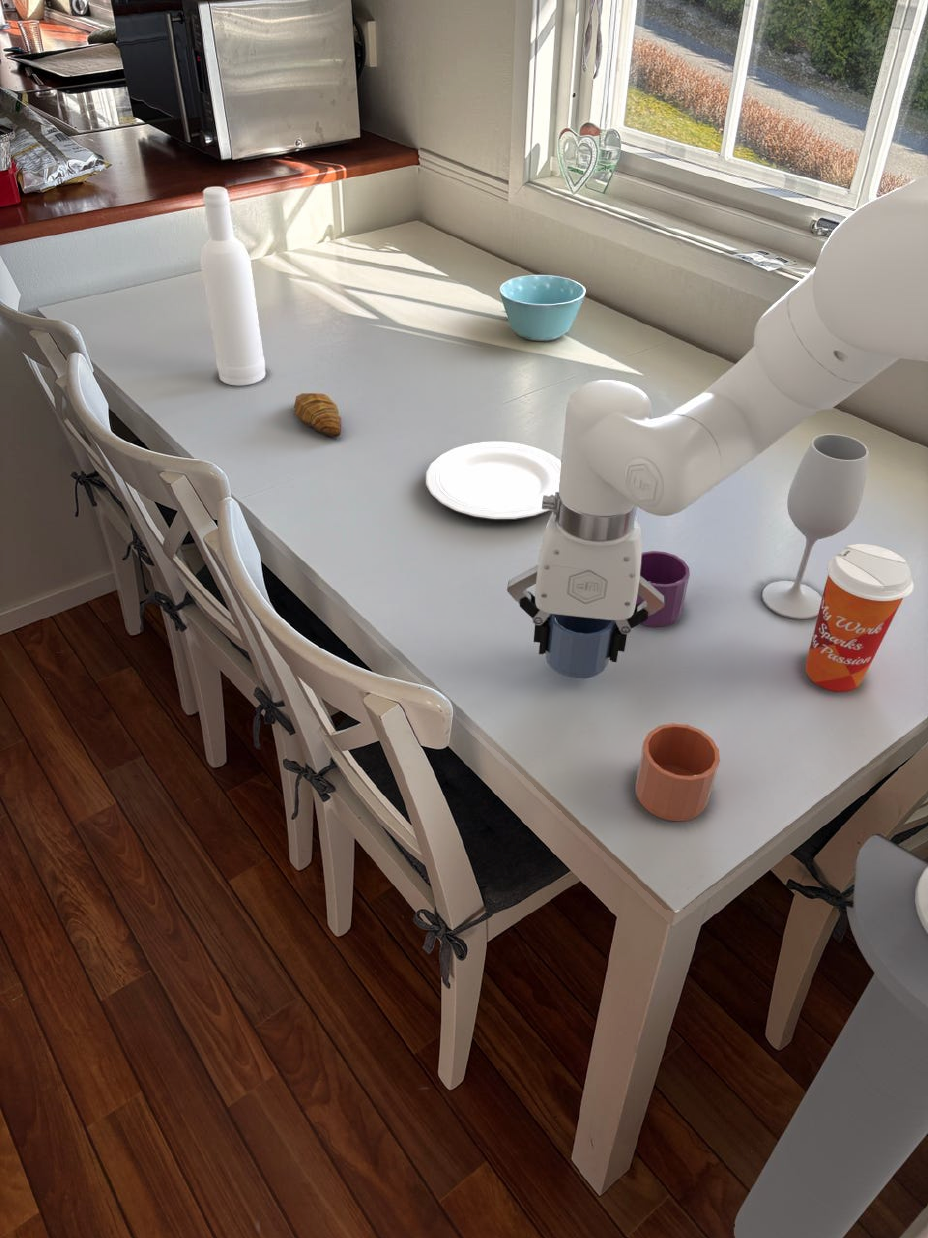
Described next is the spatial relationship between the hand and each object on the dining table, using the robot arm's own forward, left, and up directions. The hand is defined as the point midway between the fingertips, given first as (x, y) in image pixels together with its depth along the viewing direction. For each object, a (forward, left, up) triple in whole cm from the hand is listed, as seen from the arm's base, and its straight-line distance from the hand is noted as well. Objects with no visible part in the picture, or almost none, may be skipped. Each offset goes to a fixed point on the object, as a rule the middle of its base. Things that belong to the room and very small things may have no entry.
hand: (578, 648), depth 100 cm
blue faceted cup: (0, 0, -1) cm, 1 cm away
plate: (+35, -17, -4) cm, 39 cm away
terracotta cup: (-18, +4, -3) cm, 19 cm away
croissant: (+67, -6, -4) cm, 67 cm away
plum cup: (+3, -15, -3) cm, 16 cm away
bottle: (+89, -4, -4) cm, 89 cm away
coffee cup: (-17, -23, -4) cm, 29 cm away
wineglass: (-6, -30, -4) cm, 31 cm away
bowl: (+74, -58, -4) cm, 94 cm away
